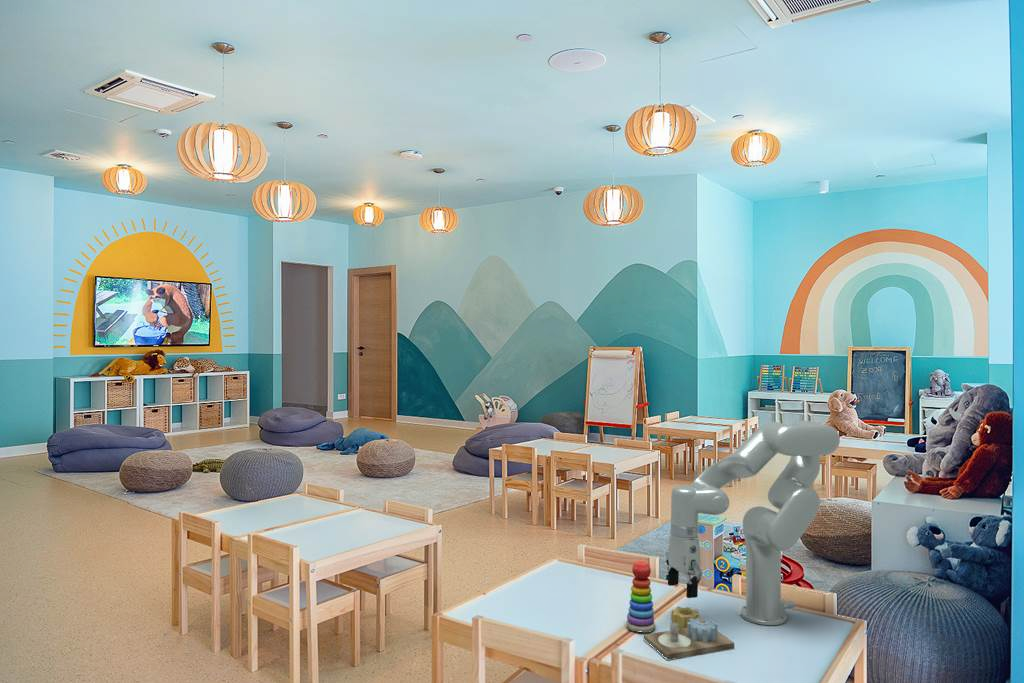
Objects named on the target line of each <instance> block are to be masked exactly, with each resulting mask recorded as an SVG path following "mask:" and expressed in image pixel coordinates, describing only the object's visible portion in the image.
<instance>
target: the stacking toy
mask: <svg viewBox="0 0 1024 683" xmlns="http://www.w3.org/2000/svg"><path fill="white" fill-rule="evenodd" d="M631 571H632V574H633V576H634V578H633V579H632V586H631V587H630V591H631V593H630V596H629V597H630V600H629V601H628V602H629V607H628V612H627V615H626V618H627V621H626V627H627V628H628V629H629V630H630V631H632V632H634V631H642V632H649V631H651V632H653V631H654V630H656V623H655V617H654V616H655V615H654V613H655V609H654V607H653V606H654V603H653V601H652V599H653V595H652V593H651V592H652V588H651V587H650V585H651V580H650V578H649V577H650V575H651V571H652V569H651V566H650V564H649V563H648V562H646V561H643V560H638V561H636V562H634V564H633V565H632V570H631ZM649 633H650V632H649Z"/></svg>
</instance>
